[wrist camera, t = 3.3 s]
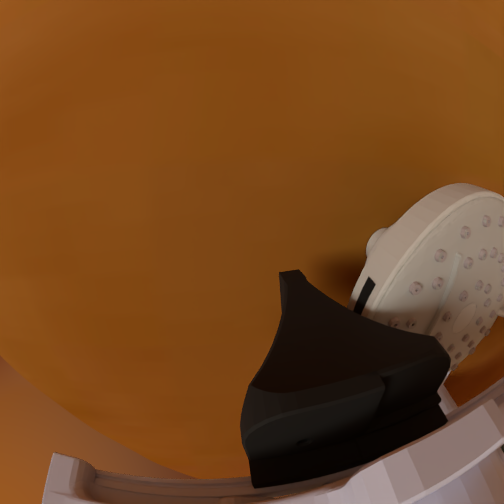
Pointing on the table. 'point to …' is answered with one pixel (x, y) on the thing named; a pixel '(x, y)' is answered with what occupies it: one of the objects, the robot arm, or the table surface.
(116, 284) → the table surface
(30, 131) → the table surface
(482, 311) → the showerhead
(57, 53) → the table surface
